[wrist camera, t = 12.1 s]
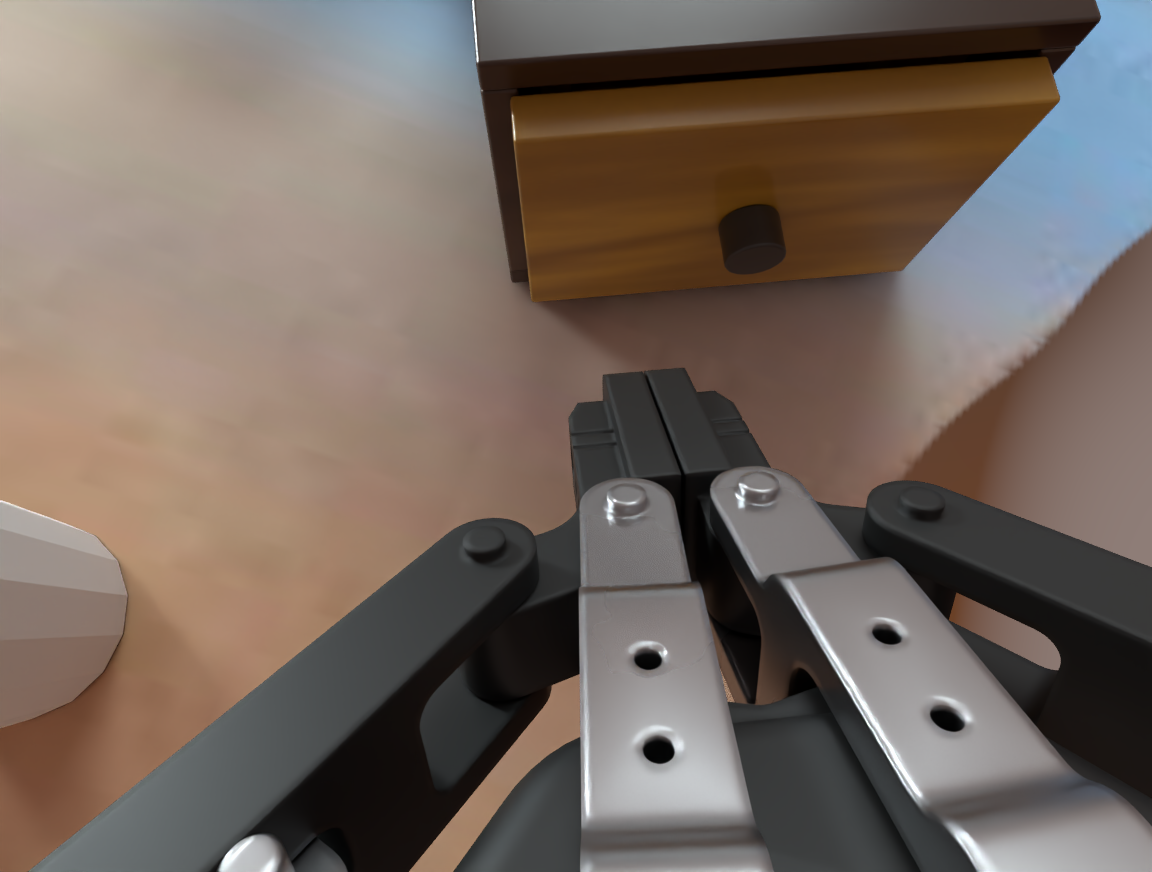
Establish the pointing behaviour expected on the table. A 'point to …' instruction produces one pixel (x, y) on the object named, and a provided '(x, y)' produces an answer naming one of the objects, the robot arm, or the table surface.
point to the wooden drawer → (760, 170)
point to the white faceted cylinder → (53, 612)
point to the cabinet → (732, 48)
